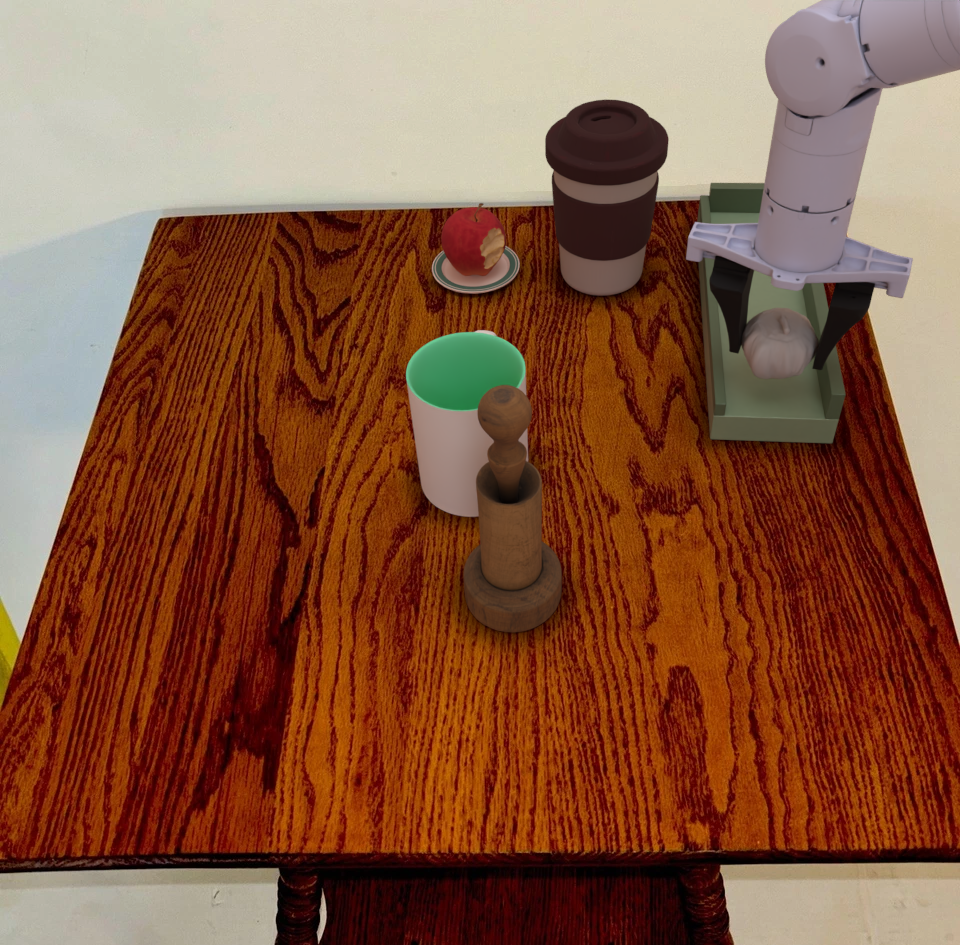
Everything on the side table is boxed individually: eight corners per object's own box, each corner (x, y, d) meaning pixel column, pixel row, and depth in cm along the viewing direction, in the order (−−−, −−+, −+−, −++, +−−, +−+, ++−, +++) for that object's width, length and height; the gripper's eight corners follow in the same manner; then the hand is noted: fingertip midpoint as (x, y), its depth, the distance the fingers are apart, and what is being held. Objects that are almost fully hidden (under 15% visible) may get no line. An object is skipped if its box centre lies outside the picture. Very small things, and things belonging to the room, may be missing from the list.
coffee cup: (644, 315, 89) (656, 157, 78) (533, 298, 91) (530, 142, 81) (666, 250, 95) (680, 95, 84) (562, 235, 98) (562, 83, 87)
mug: (436, 401, 83) (424, 296, 75) (536, 404, 82) (534, 298, 74) (412, 513, 75) (396, 408, 67) (523, 519, 74) (520, 413, 66)
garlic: (797, 403, 74) (810, 346, 71) (725, 381, 76) (734, 325, 73) (822, 354, 78) (836, 298, 74) (752, 334, 80) (762, 278, 76)
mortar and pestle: (555, 638, 67) (556, 441, 54) (457, 628, 68) (433, 432, 55) (566, 558, 71) (568, 358, 58) (473, 549, 72) (455, 351, 59)
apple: (524, 247, 97) (522, 185, 92) (514, 299, 92) (511, 236, 87) (440, 243, 98) (434, 182, 93) (425, 295, 93) (418, 233, 88)
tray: (832, 444, 77) (846, 394, 74) (710, 439, 78) (717, 390, 75) (794, 230, 96) (803, 183, 93) (696, 229, 97) (701, 182, 94)
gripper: (682, 204, 66) (666, 366, 76) (922, 242, 62) (872, 409, 71) (708, 149, 70) (689, 309, 80) (934, 181, 66) (885, 346, 76)
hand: (777, 352), depth 76 cm, fingers closed on garlic, 5 cm apart
